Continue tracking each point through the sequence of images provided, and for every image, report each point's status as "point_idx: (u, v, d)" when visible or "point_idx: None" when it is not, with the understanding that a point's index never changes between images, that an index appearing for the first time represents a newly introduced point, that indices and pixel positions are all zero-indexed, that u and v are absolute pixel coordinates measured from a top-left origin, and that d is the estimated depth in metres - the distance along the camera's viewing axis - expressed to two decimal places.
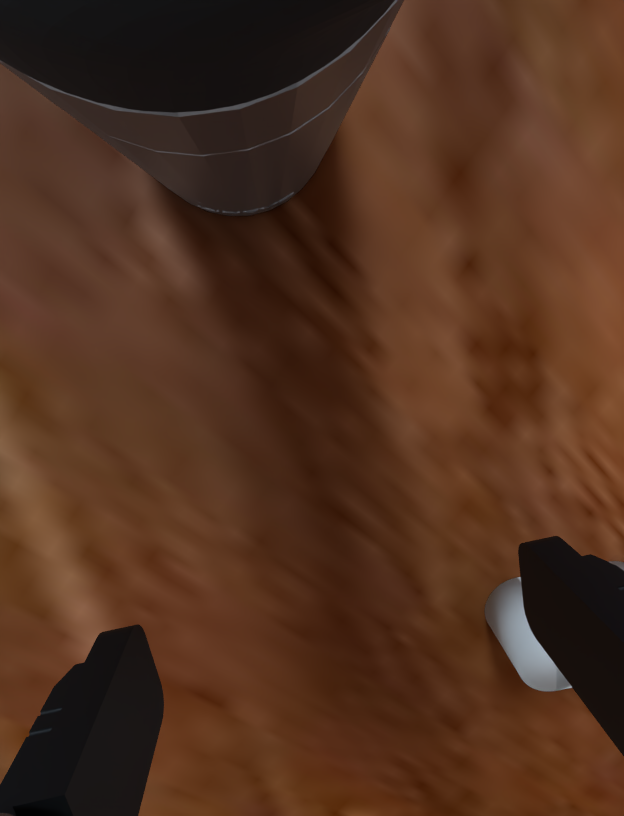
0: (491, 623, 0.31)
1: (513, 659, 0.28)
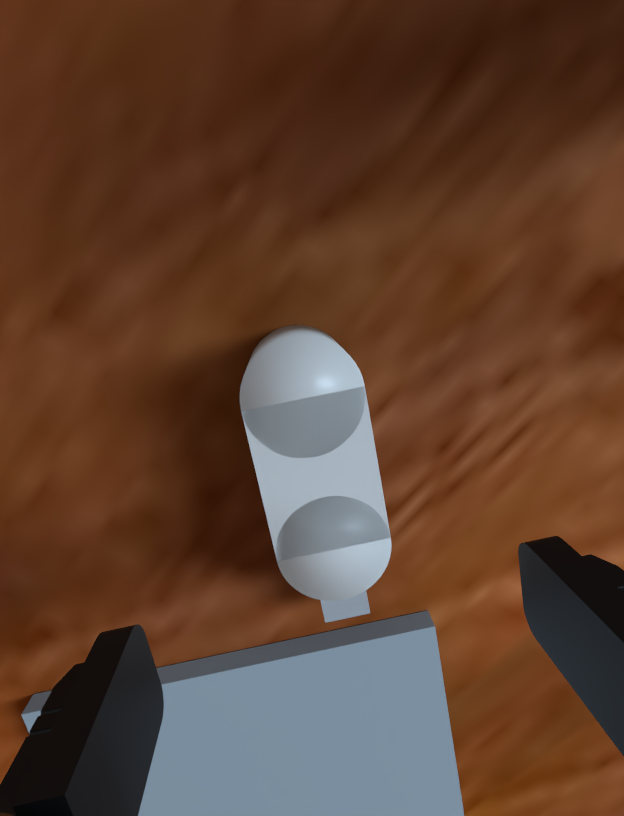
0: (287, 328, 0.20)
1: (288, 335, 0.17)
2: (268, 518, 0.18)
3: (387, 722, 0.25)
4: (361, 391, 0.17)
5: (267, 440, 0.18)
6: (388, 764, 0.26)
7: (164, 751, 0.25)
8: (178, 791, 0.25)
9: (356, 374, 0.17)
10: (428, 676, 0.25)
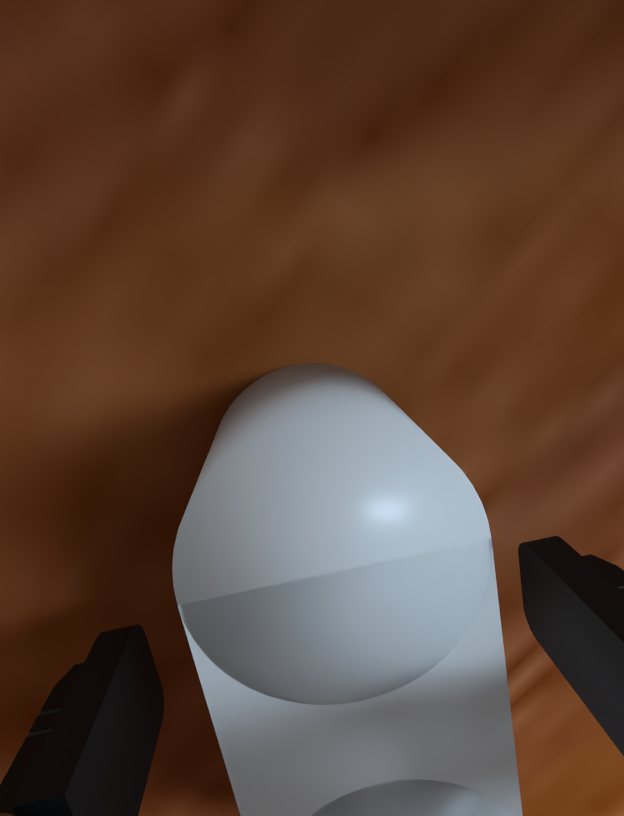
0: (293, 373, 0.10)
1: (300, 410, 0.07)
2: None
3: None
4: (483, 552, 0.07)
5: (245, 669, 0.07)
6: None
7: None
8: None
9: (472, 511, 0.07)
10: None
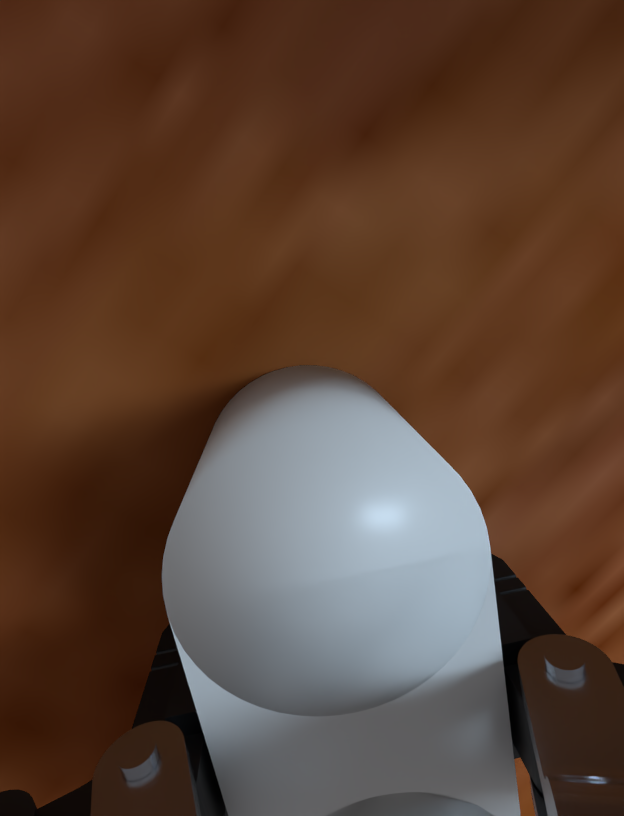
0: (288, 376, 0.09)
1: (293, 414, 0.07)
2: None
3: None
4: (481, 559, 0.07)
5: (237, 679, 0.07)
6: None
7: None
8: None
9: (470, 517, 0.07)
10: None
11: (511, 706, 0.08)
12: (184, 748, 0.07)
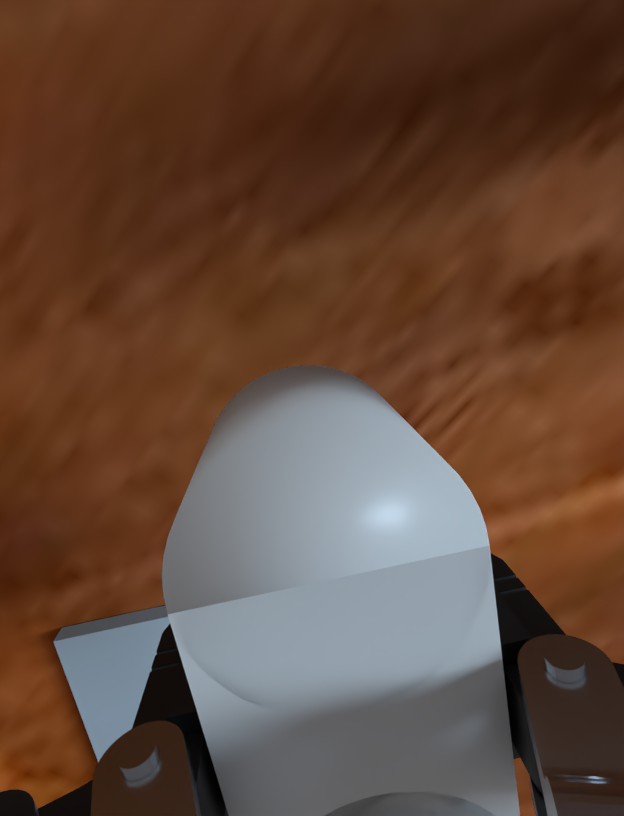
0: (288, 376, 0.10)
1: (293, 414, 0.07)
2: None
3: None
4: (481, 559, 0.07)
5: (238, 679, 0.07)
6: None
7: None
8: None
9: (470, 517, 0.07)
10: None
11: (511, 706, 0.08)
12: (184, 748, 0.07)
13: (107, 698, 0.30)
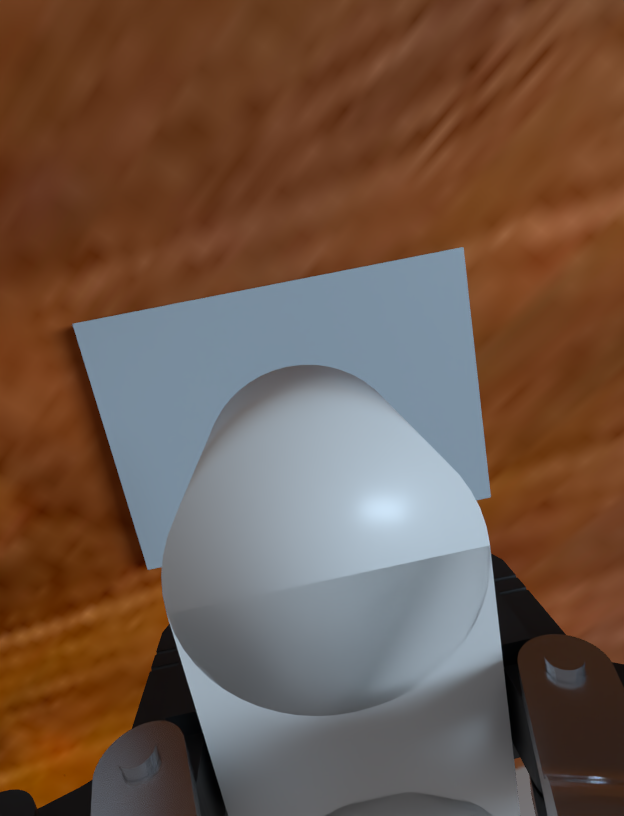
0: (288, 375, 0.09)
1: (293, 413, 0.07)
2: None
3: (416, 354, 0.27)
4: (481, 558, 0.07)
5: (237, 679, 0.07)
6: (417, 403, 0.27)
7: (206, 375, 0.26)
8: None
9: (470, 516, 0.07)
10: (456, 304, 0.26)
11: (511, 706, 0.08)
12: (184, 748, 0.07)
13: (133, 402, 0.26)
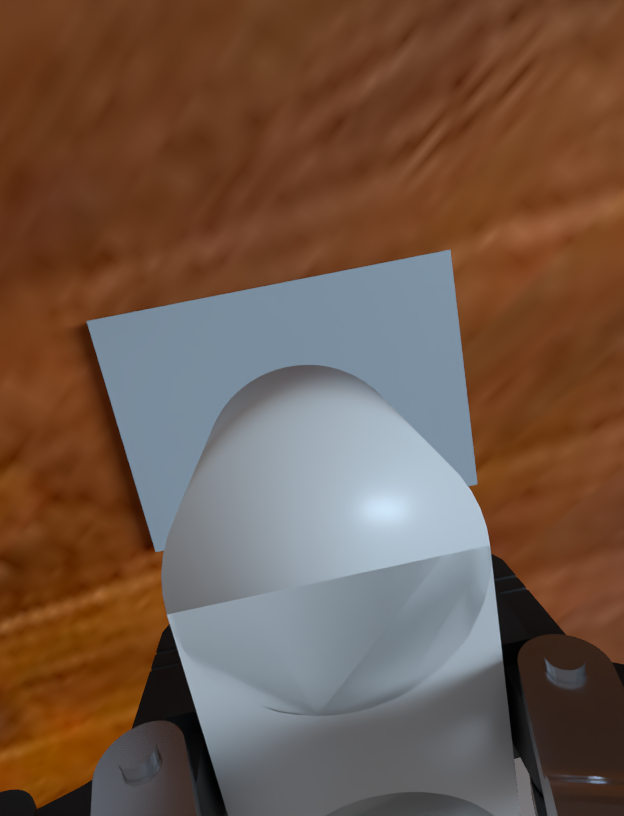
0: (288, 375, 0.09)
1: (293, 413, 0.07)
2: None
3: (407, 350, 0.28)
4: (481, 559, 0.07)
5: (237, 679, 0.07)
6: (407, 396, 0.29)
7: (210, 369, 0.28)
8: None
9: (470, 517, 0.07)
10: (444, 302, 0.28)
11: (511, 706, 0.08)
12: (184, 748, 0.07)
13: (142, 394, 0.28)
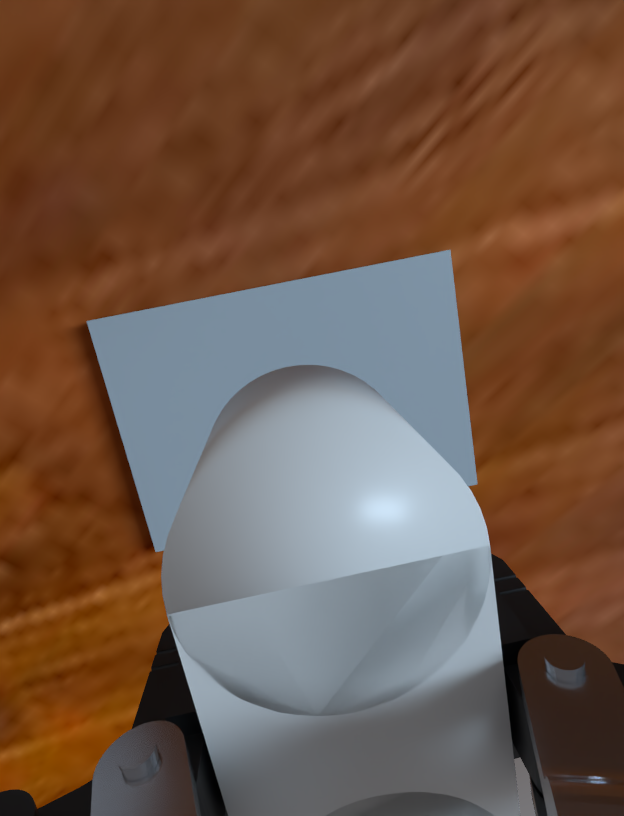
0: (288, 375, 0.09)
1: (293, 413, 0.07)
2: None
3: (407, 350, 0.28)
4: (481, 559, 0.07)
5: (237, 679, 0.07)
6: (407, 396, 0.29)
7: (210, 369, 0.28)
8: None
9: (470, 517, 0.07)
10: (444, 302, 0.28)
11: (511, 706, 0.08)
12: (184, 748, 0.07)
13: (142, 394, 0.28)
